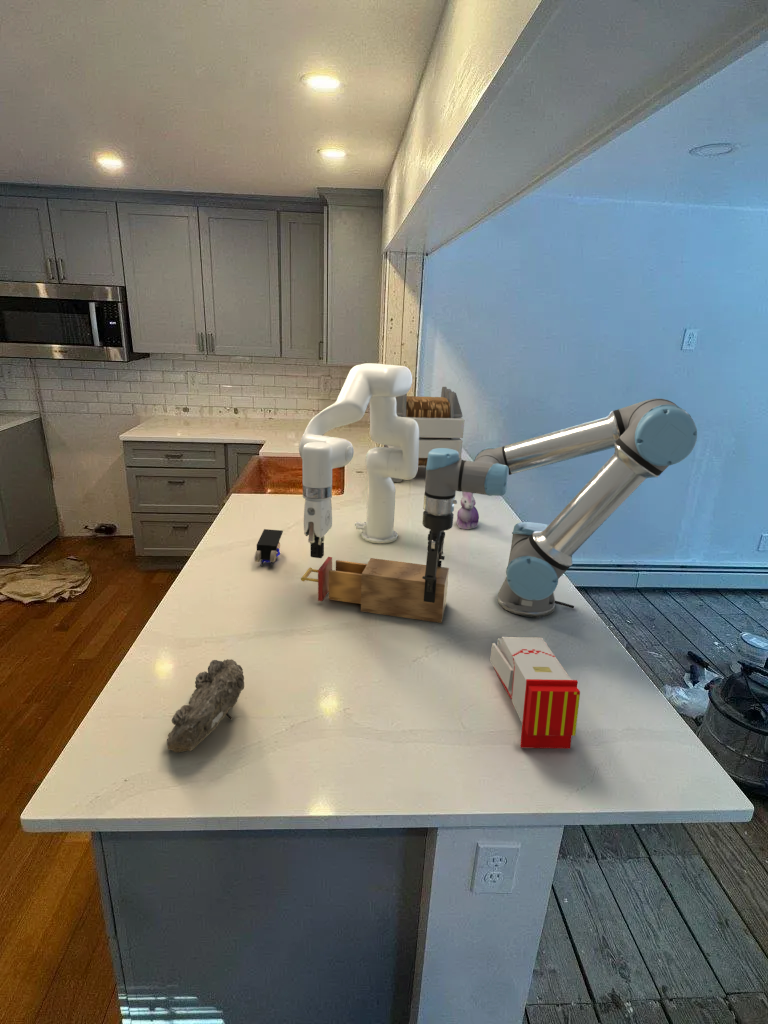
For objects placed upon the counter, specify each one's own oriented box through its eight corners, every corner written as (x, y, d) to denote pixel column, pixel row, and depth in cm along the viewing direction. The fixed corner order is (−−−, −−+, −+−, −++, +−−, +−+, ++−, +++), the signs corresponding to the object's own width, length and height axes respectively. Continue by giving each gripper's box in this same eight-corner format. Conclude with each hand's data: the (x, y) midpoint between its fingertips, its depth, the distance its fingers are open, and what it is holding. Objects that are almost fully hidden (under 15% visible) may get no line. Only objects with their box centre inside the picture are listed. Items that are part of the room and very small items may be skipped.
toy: (539, 620, 128) (589, 687, 99) (533, 674, 131) (581, 755, 102) (485, 619, 128) (521, 686, 99) (481, 673, 131) (514, 755, 101)
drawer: (299, 598, 151) (299, 567, 148) (310, 583, 159) (310, 554, 156) (391, 611, 147) (393, 580, 144) (398, 595, 155) (399, 565, 152)
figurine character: (277, 573, 169) (284, 548, 183) (276, 551, 166) (283, 527, 179) (254, 573, 169) (263, 547, 182) (252, 551, 166) (262, 527, 179)
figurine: (464, 531, 204) (468, 492, 199) (448, 522, 212) (452, 484, 207) (485, 528, 208) (490, 489, 203) (469, 519, 217) (473, 481, 212)
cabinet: (360, 611, 148) (361, 573, 144) (369, 593, 157) (370, 557, 153) (441, 623, 144) (444, 584, 140) (445, 604, 153) (449, 567, 150)
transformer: (382, 463, 289) (386, 382, 275) (445, 464, 293) (451, 384, 279) (390, 482, 257) (394, 392, 243) (460, 483, 261) (468, 394, 247)
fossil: (192, 660, 117) (244, 628, 112) (224, 691, 120) (276, 661, 115) (142, 746, 98) (202, 712, 93) (182, 779, 101) (242, 748, 96)
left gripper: (322, 501, 137) (321, 570, 143) (339, 484, 151) (338, 547, 157) (293, 498, 139) (293, 566, 145) (312, 481, 152) (312, 544, 159)
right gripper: (448, 529, 129) (441, 615, 136) (457, 499, 149) (450, 575, 157) (416, 525, 130) (410, 610, 138) (429, 496, 151) (424, 571, 158)
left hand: (317, 556), depth 151 cm, fingers closed
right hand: (432, 591), depth 147 cm, fingers closed on cabinet, 10 cm apart
